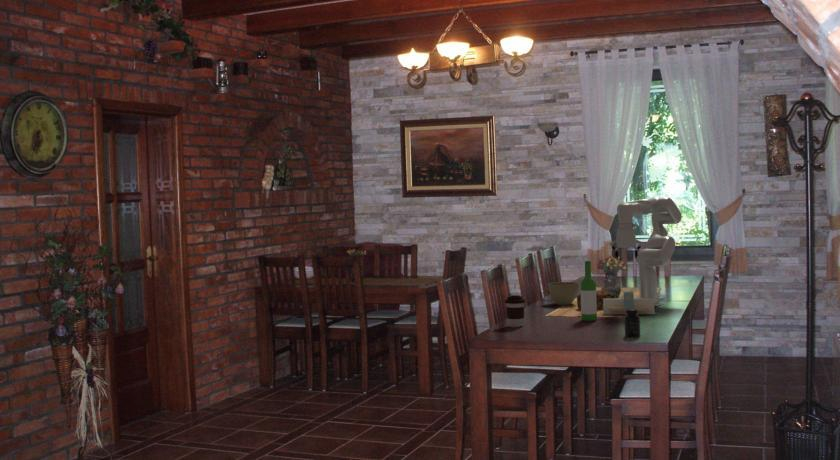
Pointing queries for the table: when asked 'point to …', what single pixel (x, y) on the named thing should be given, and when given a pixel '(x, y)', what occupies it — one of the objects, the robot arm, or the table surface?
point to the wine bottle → (588, 295)
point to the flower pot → (563, 292)
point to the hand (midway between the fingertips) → (626, 258)
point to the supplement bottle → (632, 323)
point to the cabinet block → (628, 299)
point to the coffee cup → (515, 310)
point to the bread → (598, 298)
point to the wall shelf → (618, 308)
